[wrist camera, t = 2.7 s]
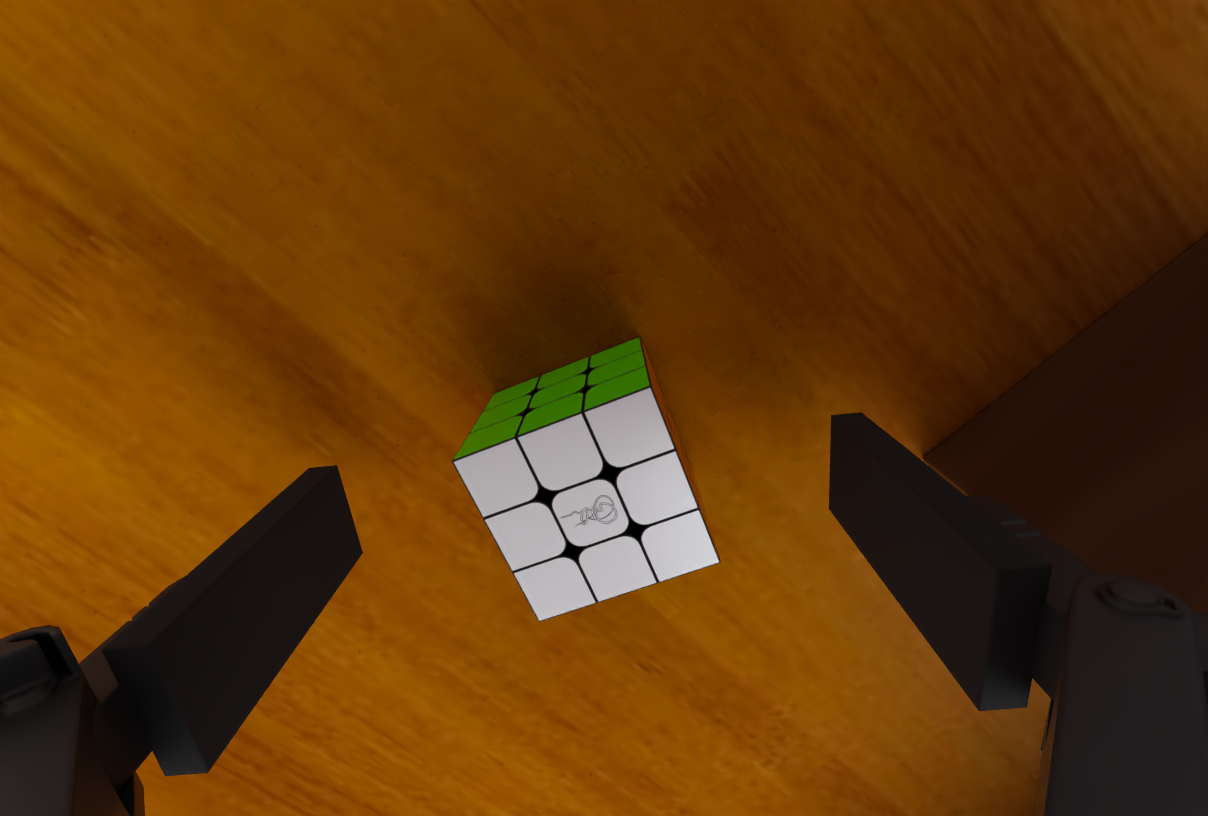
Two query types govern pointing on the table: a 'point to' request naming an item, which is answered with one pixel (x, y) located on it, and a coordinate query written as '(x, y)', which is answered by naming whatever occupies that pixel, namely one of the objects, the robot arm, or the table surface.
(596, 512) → the rubik's cube
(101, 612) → the table surface
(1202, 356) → the walnut step
